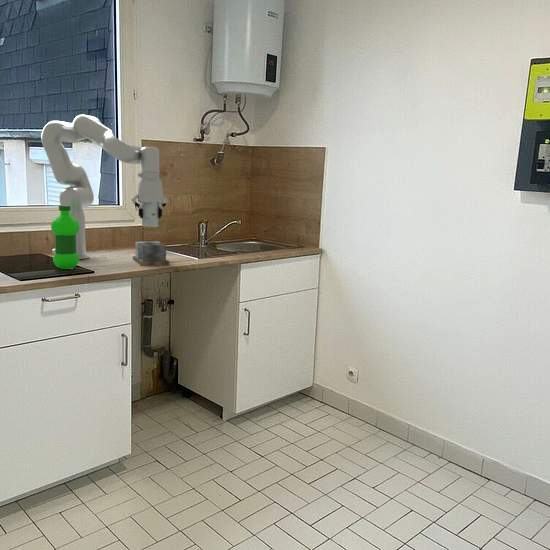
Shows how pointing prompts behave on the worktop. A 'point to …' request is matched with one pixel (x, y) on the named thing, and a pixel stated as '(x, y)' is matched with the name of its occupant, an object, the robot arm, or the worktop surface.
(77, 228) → the plastic bottle
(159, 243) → the grey lidded container
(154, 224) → the skincare box
